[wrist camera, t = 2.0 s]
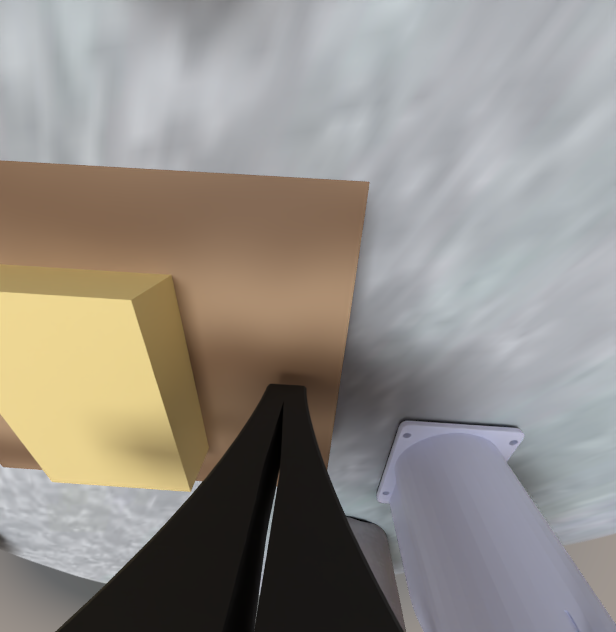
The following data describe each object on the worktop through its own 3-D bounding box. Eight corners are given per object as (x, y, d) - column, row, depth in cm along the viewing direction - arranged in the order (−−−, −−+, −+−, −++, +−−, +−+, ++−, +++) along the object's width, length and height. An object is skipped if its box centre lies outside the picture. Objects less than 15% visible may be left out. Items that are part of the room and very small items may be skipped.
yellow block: (208, 448, 12) (190, 491, 11) (90, 439, 12) (52, 481, 11) (171, 274, 8) (130, 300, 6) (-9, 264, 8) (-98, 285, 6)
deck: (322, 427, 17) (324, 489, 14) (66, 409, 17) (3, 467, 14) (352, 182, 10) (369, 181, 7) (-79, 157, 10) (-283, 144, 7)
